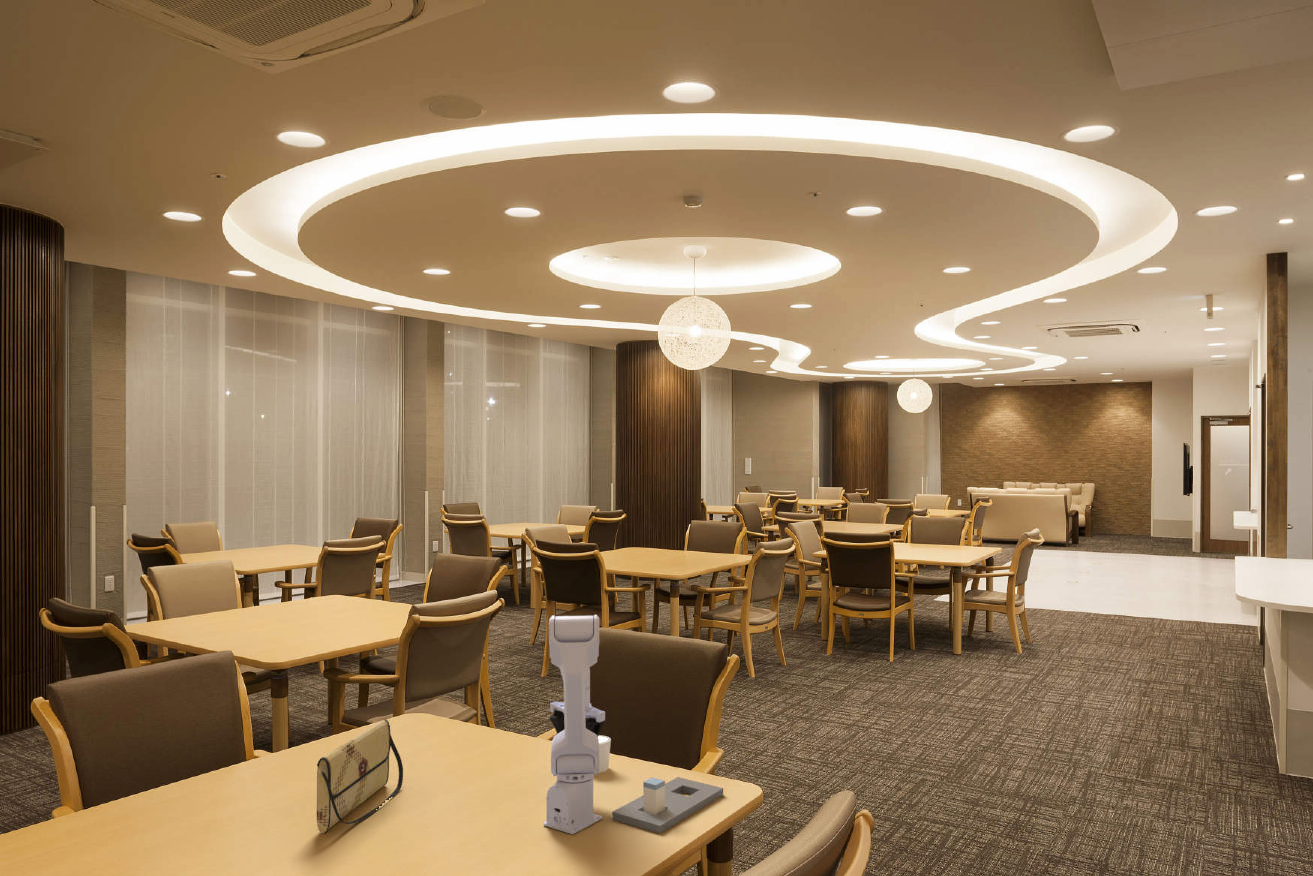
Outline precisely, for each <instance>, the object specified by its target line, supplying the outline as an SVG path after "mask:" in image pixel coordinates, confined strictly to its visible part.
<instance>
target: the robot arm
mask: <svg viewBox="0 0 1313 876" xmlns="http://www.w3.org/2000/svg"><path fill="white" fill-rule="evenodd" d="M548 620H549V621H548V646H549V648H548V649H549V659H550V663H551V664H552V665H553V666H555V667H557V668H558V669H559V671H560V674H561V675H560V676H561V677H562V682H563V702H560V701H552V702H550V703H549V707H550V708H549V710H550V713H553V714H552V715H549V720H550V721H551V723H552V724H553V726H554V729H555V732H556V734H555V735H554V736H553V738H552V740H551V752H550V753H551V755H550V758H551V759H550V771H551V773H550V774H552V775H553V776H554V777H556V781H555V783H554V784H553V785H552V786H550V787H549V788H548V790H547V793H546V821H544V822H543V826H545V827H549V828H551V829H555V830H558V831H561V832H564V833H566V834H569V835H574V834H576V833H578V832H580V831H582V830H584V829H585V828H588V827H589V826H591V825H593V824H595V823H596V822H599V821H601V820H602V819H603V815H600V814H596V813H594V779H595V776H597V775H598V774H599V770H600V762H599V739H598V735H600V732H601V730H602V728H603V726H604V725H605V724H606V723H605V722H606V711H604V710H600V709H599V708H597V707H594V706H592V703H591V667H592V666H594V665H595V664H596V663H598V657H599V655H600V650H599V649H600V647H599V646H600V617H599V616H598V614H594V615H557V616H556V615H551V616H550V618H549V619H548ZM586 719H587V720H586ZM594 770H595V773H594Z"/></svg>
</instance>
